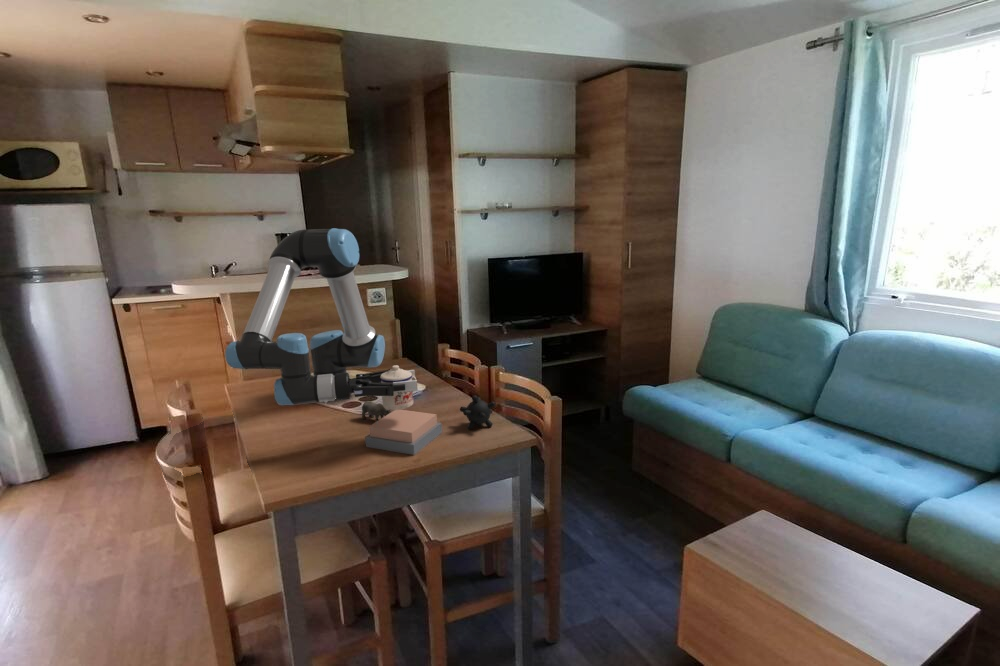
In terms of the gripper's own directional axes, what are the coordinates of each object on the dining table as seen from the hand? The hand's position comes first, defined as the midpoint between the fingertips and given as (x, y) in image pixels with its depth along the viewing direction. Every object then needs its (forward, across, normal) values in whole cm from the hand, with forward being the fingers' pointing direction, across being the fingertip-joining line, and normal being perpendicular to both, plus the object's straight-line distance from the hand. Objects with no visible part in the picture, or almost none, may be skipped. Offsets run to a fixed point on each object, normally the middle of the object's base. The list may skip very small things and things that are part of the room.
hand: (415, 379), depth 151 cm
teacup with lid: (-4, -1, -7) cm, 8 cm away
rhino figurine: (-11, -17, -18) cm, 28 cm away
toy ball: (+18, -4, -18) cm, 26 cm away
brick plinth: (-4, 0, -18) cm, 18 cm away
